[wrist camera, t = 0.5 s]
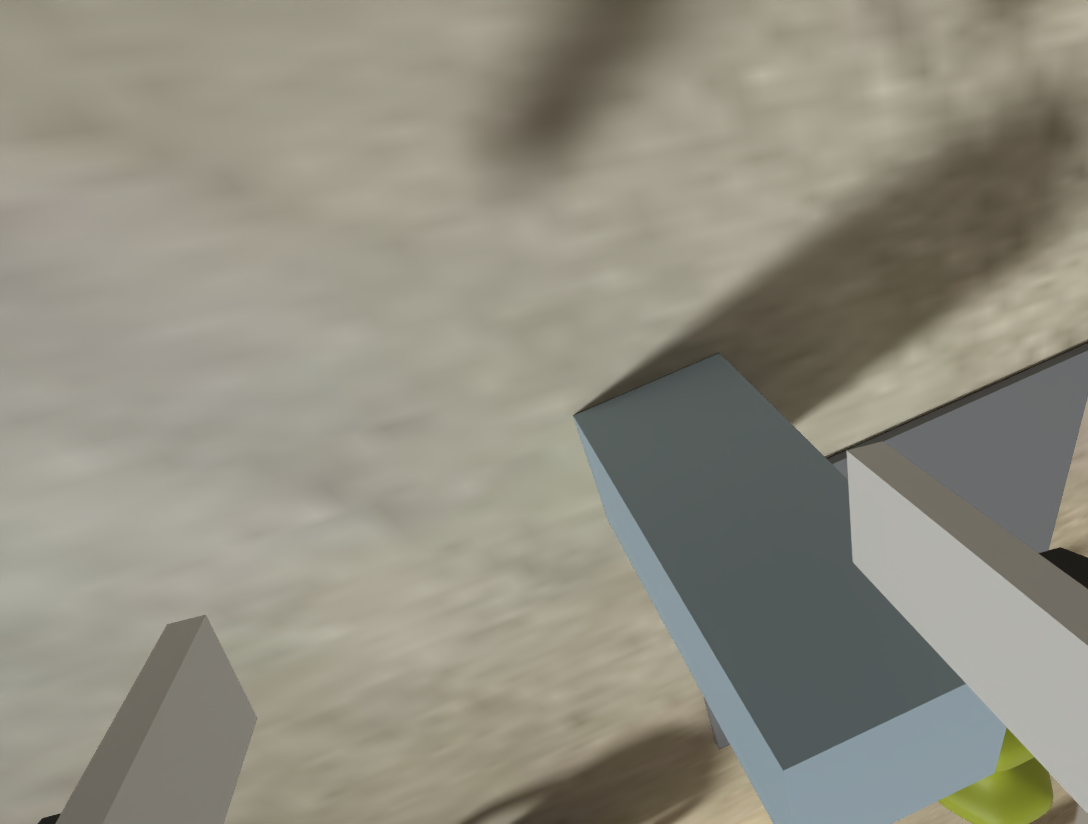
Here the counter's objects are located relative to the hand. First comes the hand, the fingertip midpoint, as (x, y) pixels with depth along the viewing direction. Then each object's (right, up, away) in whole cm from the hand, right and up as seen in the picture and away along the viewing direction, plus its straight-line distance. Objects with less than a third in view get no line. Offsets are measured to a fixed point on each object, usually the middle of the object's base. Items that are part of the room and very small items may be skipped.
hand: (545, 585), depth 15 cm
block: (+5, +2, +14) cm, 15 cm away
